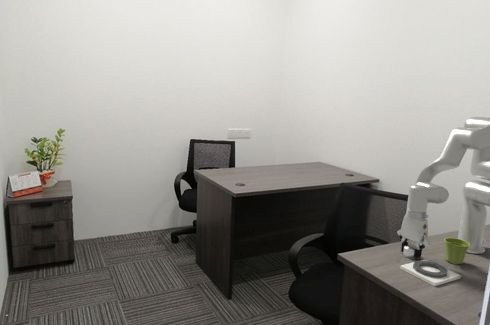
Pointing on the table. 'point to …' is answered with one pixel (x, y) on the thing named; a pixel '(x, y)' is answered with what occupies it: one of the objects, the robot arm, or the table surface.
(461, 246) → the plant pot
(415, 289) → the table surface
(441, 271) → the mounted pipe fitting
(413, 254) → the cap
